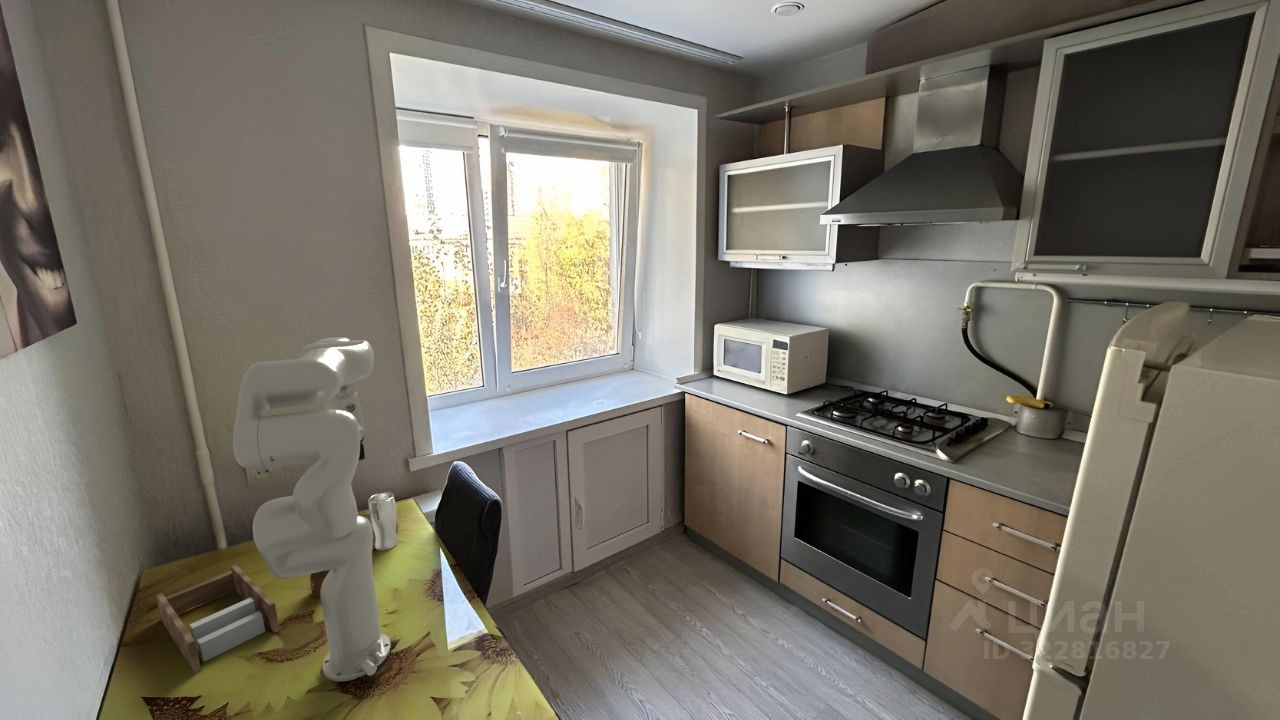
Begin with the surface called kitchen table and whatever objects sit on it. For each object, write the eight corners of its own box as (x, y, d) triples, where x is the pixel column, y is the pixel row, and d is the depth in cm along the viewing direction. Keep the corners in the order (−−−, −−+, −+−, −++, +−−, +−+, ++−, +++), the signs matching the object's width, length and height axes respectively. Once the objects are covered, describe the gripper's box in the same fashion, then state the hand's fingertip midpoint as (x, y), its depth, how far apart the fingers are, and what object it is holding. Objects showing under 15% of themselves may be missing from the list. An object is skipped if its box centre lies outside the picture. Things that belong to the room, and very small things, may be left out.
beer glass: (405, 542, 152) (399, 495, 149) (382, 554, 146) (376, 505, 143) (391, 536, 155) (385, 489, 152) (368, 547, 149) (362, 499, 147)
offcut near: (258, 623, 119) (253, 600, 118) (197, 653, 110) (192, 628, 109) (254, 620, 120) (250, 597, 119) (194, 648, 111) (189, 624, 110)
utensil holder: (341, 581, 134) (335, 539, 131) (336, 595, 128) (329, 552, 126) (315, 586, 132) (309, 543, 130) (309, 601, 126) (301, 557, 124)
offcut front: (265, 632, 116) (262, 614, 115) (203, 662, 108) (199, 644, 107) (262, 628, 117) (258, 610, 116) (201, 658, 109) (197, 639, 108)
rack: (279, 630, 116) (274, 603, 115) (195, 673, 104) (188, 643, 103) (238, 586, 132) (233, 562, 131) (160, 619, 120) (154, 592, 119)
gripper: (372, 390, 122) (381, 459, 125) (339, 381, 132) (347, 444, 135) (339, 398, 116) (349, 469, 119) (307, 387, 126) (316, 453, 129)
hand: (348, 456), depth 127 cm, fingers open, 9 cm apart
